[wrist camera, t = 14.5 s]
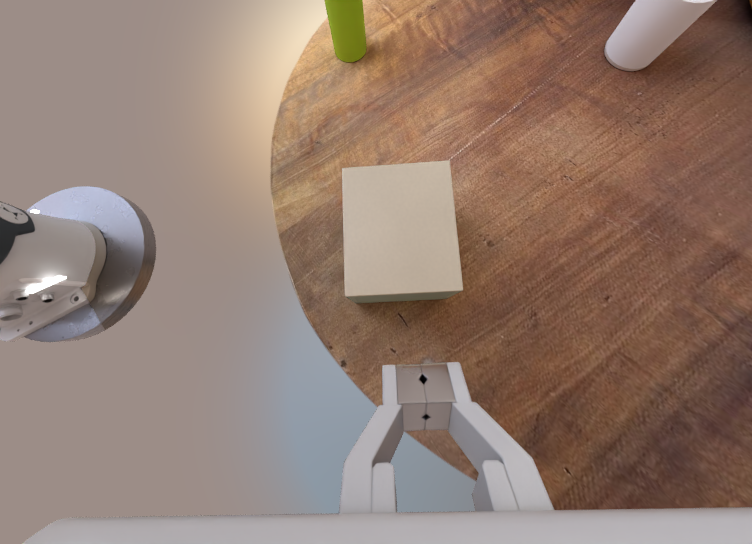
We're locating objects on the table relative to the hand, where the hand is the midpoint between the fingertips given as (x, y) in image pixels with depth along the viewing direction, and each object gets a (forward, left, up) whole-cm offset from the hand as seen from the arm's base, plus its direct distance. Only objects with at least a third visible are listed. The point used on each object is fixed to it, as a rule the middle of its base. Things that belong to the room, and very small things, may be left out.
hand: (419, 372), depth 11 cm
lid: (+9, +11, -20) cm, 25 cm away
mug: (+62, +12, -29) cm, 70 cm away
